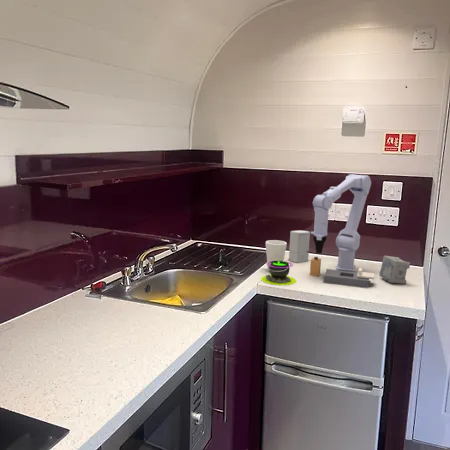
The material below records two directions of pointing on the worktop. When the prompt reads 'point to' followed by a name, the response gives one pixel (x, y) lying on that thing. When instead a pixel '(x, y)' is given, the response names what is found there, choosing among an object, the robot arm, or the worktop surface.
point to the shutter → (365, 274)
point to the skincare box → (299, 246)
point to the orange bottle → (315, 266)
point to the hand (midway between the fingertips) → (318, 253)
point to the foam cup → (275, 250)
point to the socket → (345, 278)
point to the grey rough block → (394, 269)
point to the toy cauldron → (278, 273)
